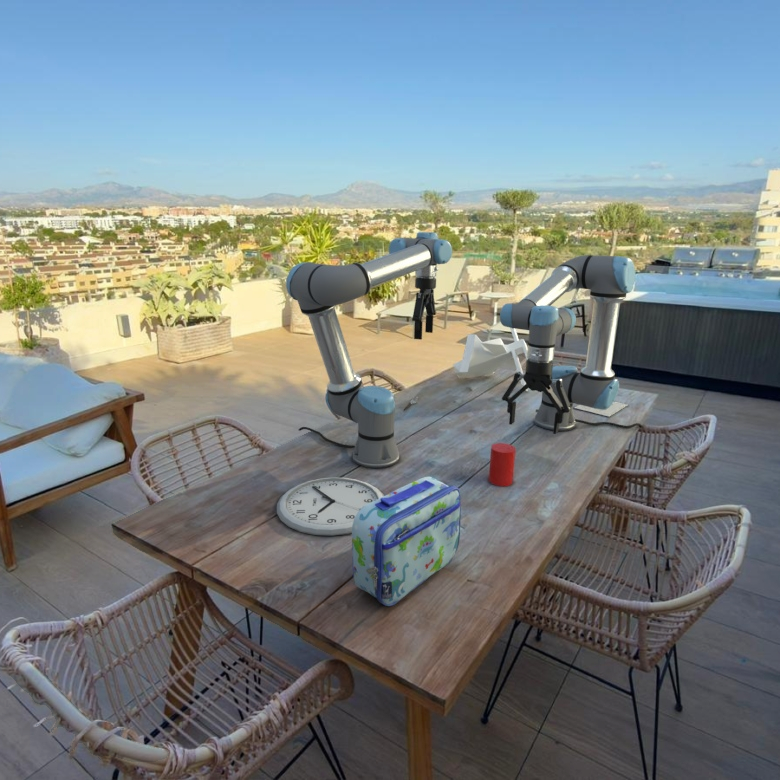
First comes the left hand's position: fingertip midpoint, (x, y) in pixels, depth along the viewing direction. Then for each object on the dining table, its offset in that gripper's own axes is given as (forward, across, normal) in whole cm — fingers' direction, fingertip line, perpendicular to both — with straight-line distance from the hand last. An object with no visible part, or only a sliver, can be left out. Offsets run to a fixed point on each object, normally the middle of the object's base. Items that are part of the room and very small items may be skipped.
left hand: (423, 335), depth 193 cm
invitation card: (+35, +50, -66) cm, 90 cm away
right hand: (+19, -29, -44) cm, 56 cm away
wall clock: (+35, -69, +3) cm, 77 cm away
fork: (+35, +18, +10) cm, 40 cm away
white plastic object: (+35, +64, -16) cm, 74 cm away
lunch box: (+35, -91, -26) cm, 100 cm away
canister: (+35, -36, -37) cm, 63 cm away
